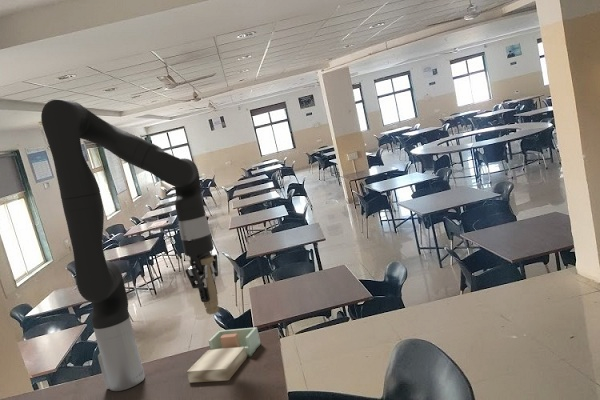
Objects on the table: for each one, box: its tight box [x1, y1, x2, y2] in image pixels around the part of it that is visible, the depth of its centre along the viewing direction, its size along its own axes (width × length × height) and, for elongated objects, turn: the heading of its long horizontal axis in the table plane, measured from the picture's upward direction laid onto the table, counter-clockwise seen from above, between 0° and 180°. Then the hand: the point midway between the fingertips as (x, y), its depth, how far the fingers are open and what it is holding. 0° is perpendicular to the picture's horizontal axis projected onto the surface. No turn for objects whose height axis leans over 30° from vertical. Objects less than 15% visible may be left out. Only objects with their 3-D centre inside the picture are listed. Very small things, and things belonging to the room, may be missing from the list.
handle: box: [188, 254, 220, 315], centre depth 134 cm, size 5×6×15 cm
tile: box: [220, 333, 241, 348], centre depth 142 cm, size 4×4×2 cm
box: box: [208, 326, 262, 358], centre depth 142 cm, size 12×8×5 cm, turn 74°
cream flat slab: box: [186, 347, 248, 384], centre depth 132 cm, size 11×12×3 cm
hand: (209, 298), depth 134 cm, fingers closed on handle, 4 cm apart
